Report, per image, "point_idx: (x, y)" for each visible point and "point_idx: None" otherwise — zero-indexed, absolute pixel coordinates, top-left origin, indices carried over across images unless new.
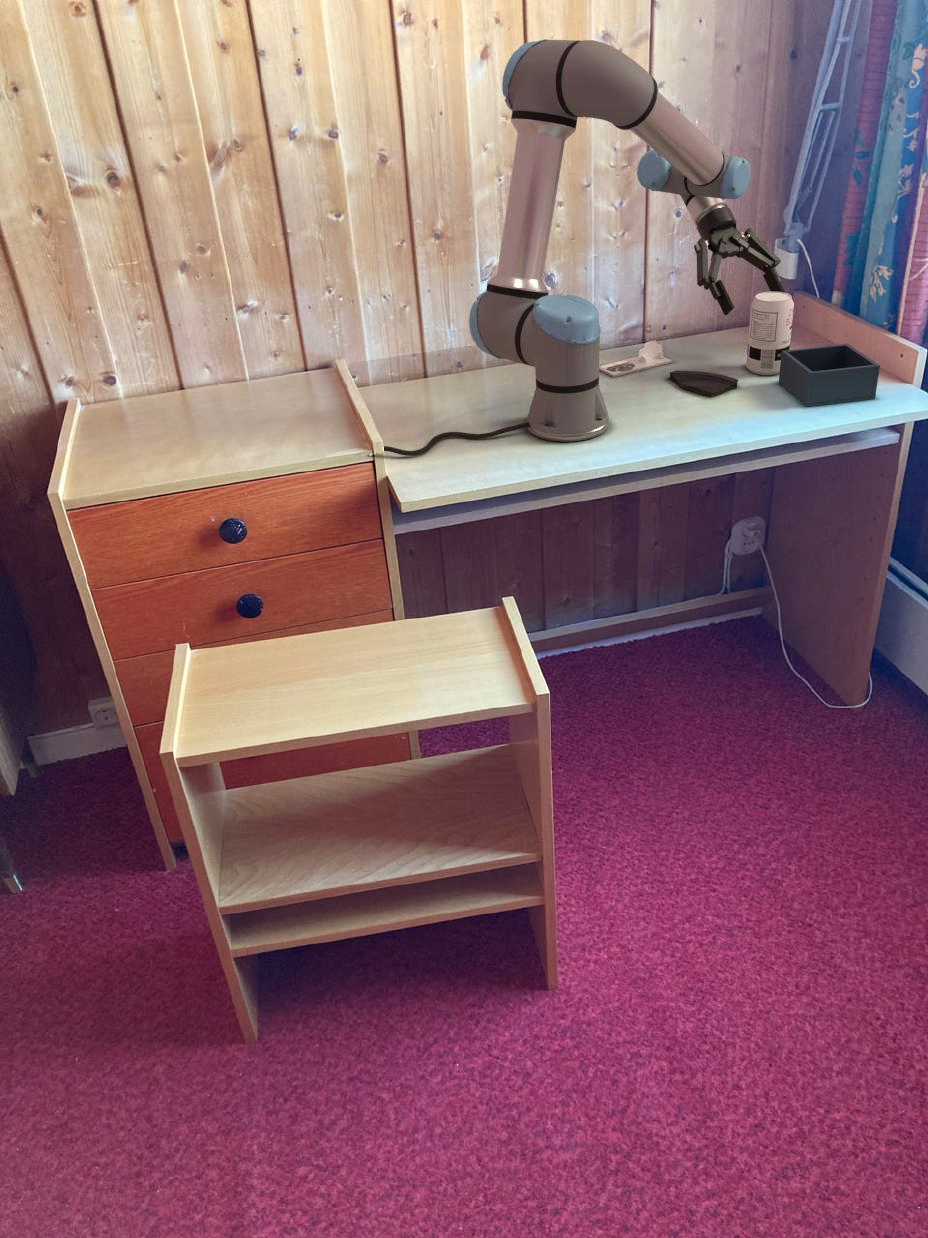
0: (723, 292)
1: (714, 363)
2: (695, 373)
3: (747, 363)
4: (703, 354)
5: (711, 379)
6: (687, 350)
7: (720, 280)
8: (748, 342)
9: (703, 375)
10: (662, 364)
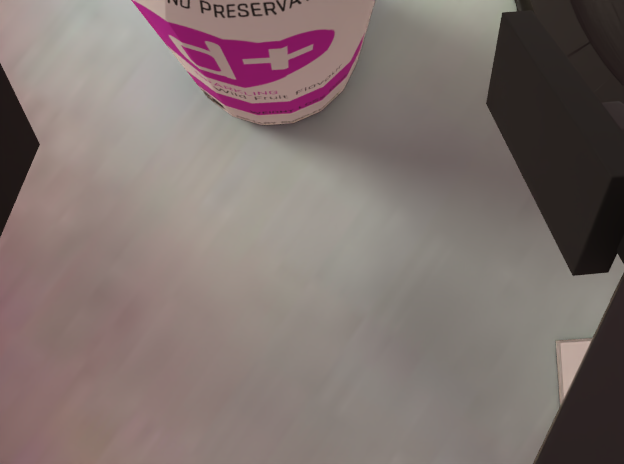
0: (587, 93)
1: (411, 228)
2: (616, 86)
3: (356, 62)
4: (383, 355)
5: (579, 12)
6: (411, 440)
7: (617, 169)
8: (356, 49)
9: (595, 53)
10: None
